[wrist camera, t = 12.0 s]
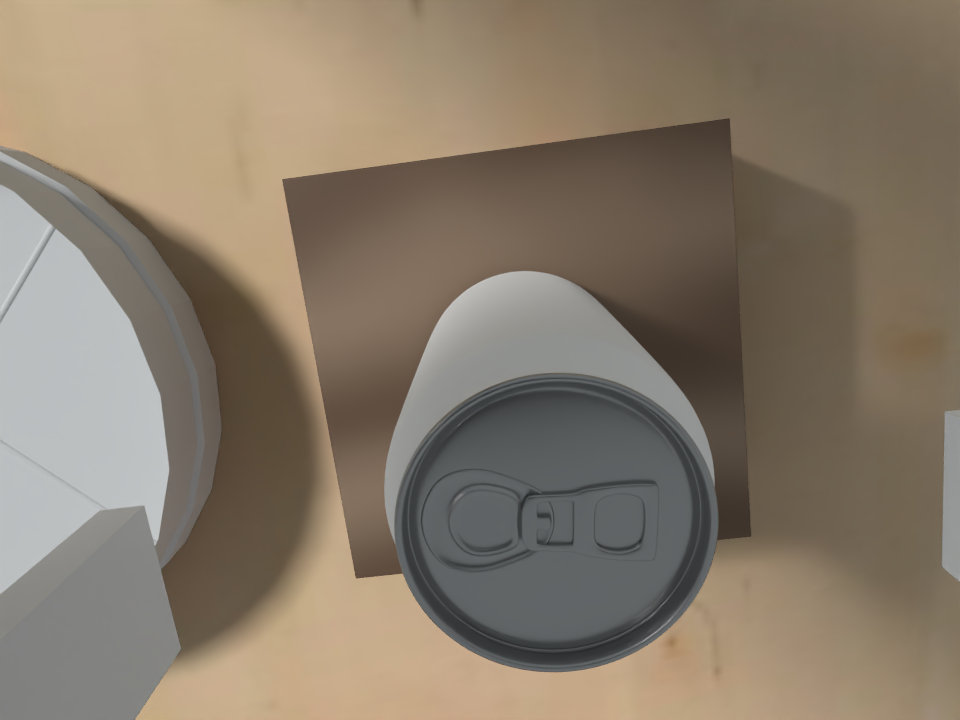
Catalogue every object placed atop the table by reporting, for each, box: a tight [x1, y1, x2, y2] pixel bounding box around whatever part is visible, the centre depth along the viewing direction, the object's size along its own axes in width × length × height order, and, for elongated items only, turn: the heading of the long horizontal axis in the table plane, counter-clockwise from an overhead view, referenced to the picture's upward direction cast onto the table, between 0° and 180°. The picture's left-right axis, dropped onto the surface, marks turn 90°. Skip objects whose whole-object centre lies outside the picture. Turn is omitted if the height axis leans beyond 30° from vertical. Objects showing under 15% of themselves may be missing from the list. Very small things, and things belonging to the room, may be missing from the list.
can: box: [384, 271, 718, 672], centre depth 18 cm, size 6×6×12 cm
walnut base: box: [282, 119, 751, 578], centre depth 27 cm, size 14×14×6 cm
